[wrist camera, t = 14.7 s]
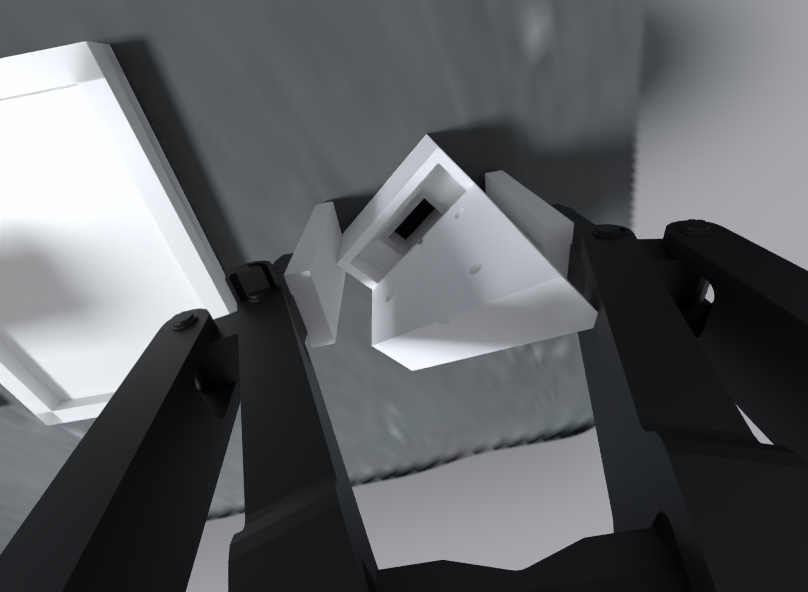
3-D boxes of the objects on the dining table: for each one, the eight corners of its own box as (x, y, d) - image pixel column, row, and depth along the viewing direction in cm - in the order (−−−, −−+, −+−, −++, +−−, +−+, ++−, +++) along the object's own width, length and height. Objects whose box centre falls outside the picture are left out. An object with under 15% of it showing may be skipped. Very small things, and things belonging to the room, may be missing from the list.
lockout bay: (-240, 114, 13) (-294, 117, 12) (109, 44, 12) (85, 41, 11) (65, 411, 21) (49, 427, 20) (275, 374, 21) (270, 390, 20)
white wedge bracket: (596, 116, 12) (609, 323, 7) (414, 238, 20) (362, 382, 15) (534, 29, 11) (500, 216, 6) (362, 195, 18) (285, 340, 13)
